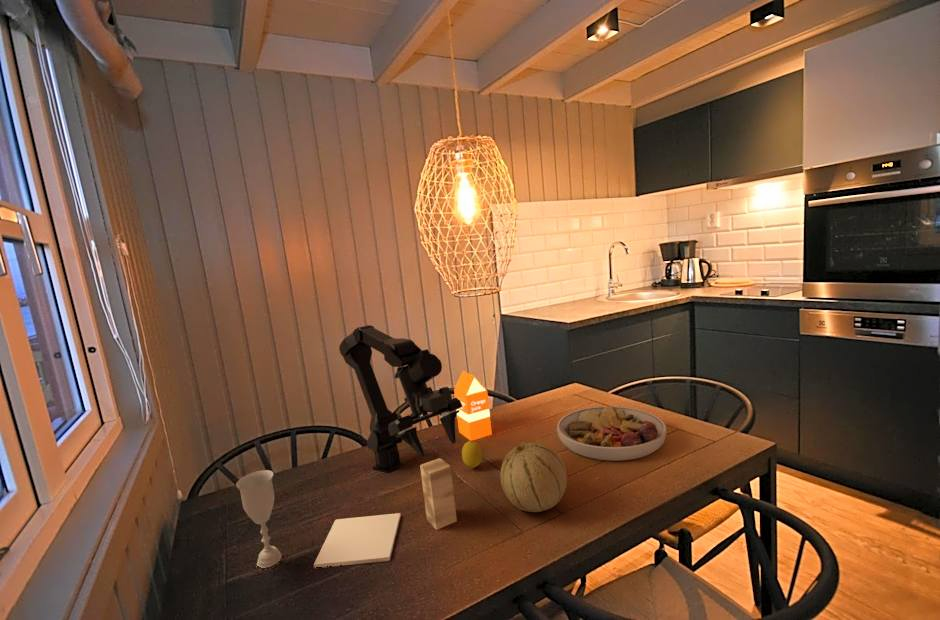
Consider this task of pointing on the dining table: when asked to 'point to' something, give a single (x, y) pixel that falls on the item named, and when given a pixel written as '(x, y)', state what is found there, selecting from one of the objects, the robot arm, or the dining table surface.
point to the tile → (359, 540)
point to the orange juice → (472, 407)
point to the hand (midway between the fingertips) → (439, 450)
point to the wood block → (438, 493)
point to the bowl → (611, 433)
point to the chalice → (260, 509)
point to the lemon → (472, 454)
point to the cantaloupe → (533, 477)
